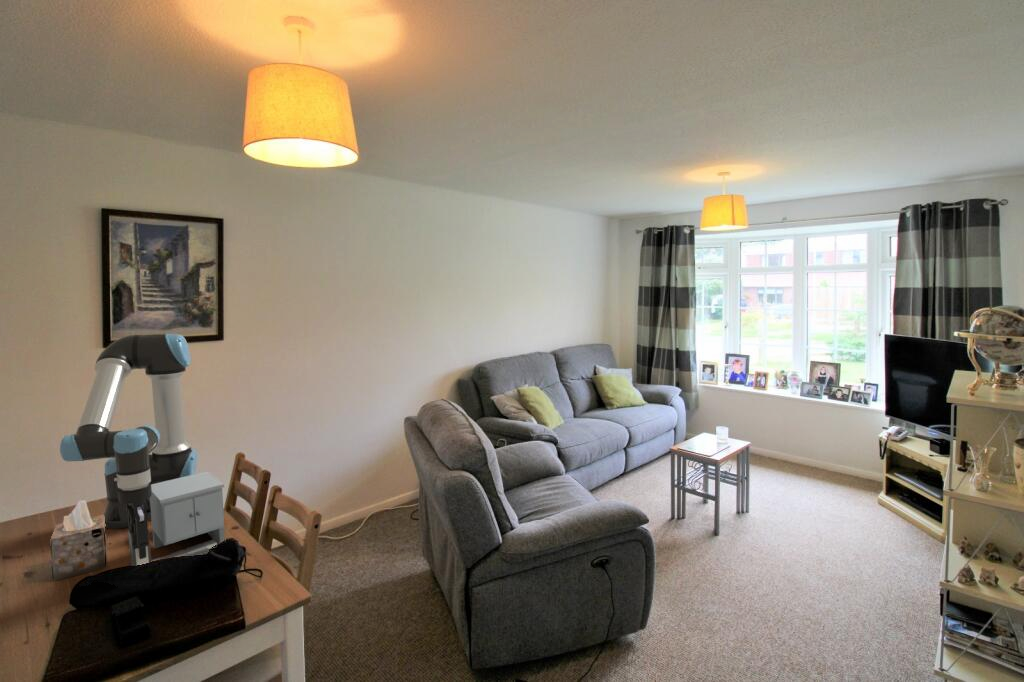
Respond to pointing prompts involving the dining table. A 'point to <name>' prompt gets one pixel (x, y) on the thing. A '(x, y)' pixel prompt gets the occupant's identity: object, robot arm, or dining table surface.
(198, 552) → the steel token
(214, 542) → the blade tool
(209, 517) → the sideboard cabinet
